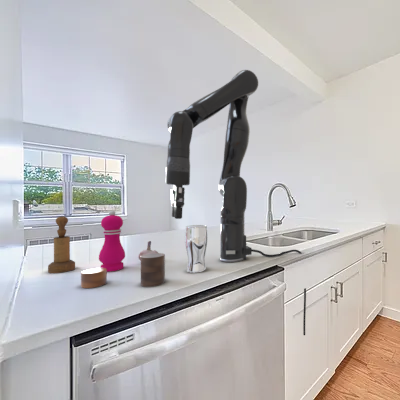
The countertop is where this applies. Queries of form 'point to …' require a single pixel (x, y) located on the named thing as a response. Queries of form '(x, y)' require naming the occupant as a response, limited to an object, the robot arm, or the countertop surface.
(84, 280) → the brown wooden short cylinder
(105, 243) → the pepper mill
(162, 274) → the cylinder
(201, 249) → the beer glass
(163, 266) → the walnut chip high
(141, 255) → the garlic bulb
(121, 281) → the countertop surface
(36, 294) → the countertop surface
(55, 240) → the wooden knobbed stamp
